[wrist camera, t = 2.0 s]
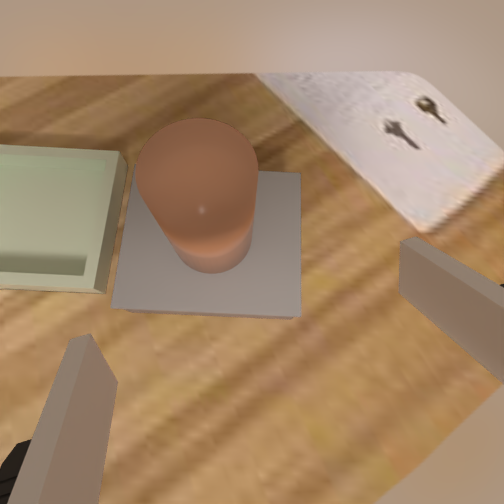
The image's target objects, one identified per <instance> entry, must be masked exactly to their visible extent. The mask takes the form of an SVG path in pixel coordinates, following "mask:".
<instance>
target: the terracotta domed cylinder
mask: <svg viewBox="0 0 504 504" xmlns="http://www.w3.org/2000/svg"><path fill="white" fill-rule="evenodd" d="M258 174H259V169H258V161H257V157H256V154H255V151H254V149H253V147H252V145H251V144H250V143H249V141H248V140H247V139H246V138H245V137H244V135H243V134H241V133H240V132H239V131H238V130H236V129H235V128H233V127H232V126H230V125H228V124H226V123H223V122H220V121H217V120H213V119H207V118H191V119H185V120H180V121H177V122H174V123H171V124H169V125H167V126H165V127H164V128H162V129H160V130H159V131H158V132H156V133H155V134H154V135H153V136H152V137H151V138H150V139H149V140H148V141H147V142H146V144H145V145H144V146H143V148H142V150H141V152H140V154H139V156H138V159H137V163H136V170H135V178H136V184H137V188H138V190H139V193H140V195H141V197H142V199H143V200H144V202H145V204H146V205H147V207H148V208H149V210H150V212H151V213H152V215H153V216H154V218H155V220H156V221H157V223H158V224H159V226H160V228H161V229H162V231H163V232H164V234H165V236H166V237H167V239H168V240H169V242H170V244H171V245H172V247H173V248H174V250H175V252H176V253H177V255H178V256H179V258H180V259H181V260H182V261H183V262H184V263H185V264H186V265H187V266H188V267H190V268H192V269H193V270H196V271H198V272H202V273H208V274H216V273H222V272H225V271H228V270H230V269H232V268H234V267H235V266H237V265H238V264H239V263H240V262H241V261H242V260H243V259H244V258H245V256H246V255H247V253H248V251H249V249H250V246H251V242H252V233H253V223H254V213H255V203H256V193H257V183H258Z"/></svg>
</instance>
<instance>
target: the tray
mask: <svg viewBox="0 0 504 504" xmlns="http://www.w3.org/2000/svg"><path fill="white" fill-rule="evenodd" d="M127 169H128V165H127V163H126V161H125V160H124V158H123V156H122V155H121V153H120V151H109V150H91V149H73V148H55V147H37V146H19V145H1V144H0V289H13V290H34V291H55V292H76V293H97V294H105V293H106V288H107V282H108V276H109V271H110V265H111V260H112V254H113V248H114V243H115V237H116V231H117V226H118V220H119V214H120V209H121V203H122V197H123V192H124V186H125V180H126V175H127Z"/></svg>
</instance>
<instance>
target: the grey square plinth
mask: <svg viewBox="0 0 504 504" xmlns="http://www.w3.org/2000/svg"><path fill="white" fill-rule="evenodd" d="M135 170H136V164H135V166H134V172H133V178H132V184H131V190H130V196H129V202H128V208H127V213H126V219H125V225H124V231H123V237H122V243H121V249H120V255H119V260H118V266H117V272H116V278H115V284H114V290H113V296H112V302H111V307H110V308H112V309H124V310H127V311H129V312H137V313H159V314H181V315H202V316H224V317H246V318H267V319H289V320H291V319H292V318H293V317H301V173H292V172H274V171H259V174H258V183H257V193H256V203H255V213H254V223H253V233H252V242H251V246H250V249H249V251H248V253H247V255H246V256H245V258H244V259H243V260H242V261H241V262H240V263H239V264H238V265H237V266H235V267H234V268H232V269H230V270H228V271H225V272H222V273H216V274H208V273H202V272H198V271H196V270H193V269H192V268H190V267H188V266H187V265H186V264H185V263H184V262H183V261H182V260H181V259H180V258H179V256H178V255H177V253H176V252H175V250H174V248H173V247H172V245H171V244H170V242H169V240H168V239H167V237H166V236H165V234H164V232H163V231H162V229H161V228H160V226H159V224H158V223H157V221H156V220H155V218H154V216H153V215H152V213H151V212H150V210H149V208H148V207H147V205H146V204H145V202H144V200H143V199H142V197H141V195H140V193H139V190H138V188H137V184H136V178H135Z"/></svg>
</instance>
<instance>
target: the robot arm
mask: <svg viewBox="0 0 504 504" xmlns="http://www.w3.org/2000/svg"><path fill="white" fill-rule="evenodd" d="M399 293H400V294H401V295H402V296H403V297H404V298H405V299H406V300H408V301H409V302H410V303H411V304H412V305H413V306H414V307H416V308H417V309H418V310H419V311H420V312H421V313H422V314H424V315H425V316H426V317H427V318H428V319H429V320H431V321H432V322H433V323H434V324H435V325H436V326H437V327H439V328H440V329H441V330H442V331H443V332H444V333H445V334H447V335H448V336H449V337H450V338H451V339H452V340H453V341H455V342H456V343H457V344H458V345H459V346H460V347H462V348H463V349H464V350H465V351H466V352H467V353H468V354H470V355H471V356H472V357H473V358H474V359H475V360H476V361H478V362H479V363H480V364H481V365H482V366H483V367H485V368H486V369H487V370H488V371H489V372H490V373H491V374H493V375H494V376H495V377H496V378H497V379H498V380H499V381H501V382H502V383H503V384H504V284H501V285H498V284H497V283H495V282H493V281H491V280H490V279H488V278H486V277H485V276H483V275H481V274H479V273H478V272H476V271H474V270H473V269H471V268H469V267H468V266H466V265H464V264H462V263H461V262H459V261H457V260H456V259H454V258H452V257H450V256H449V255H447V254H445V253H444V252H442V251H440V250H438V249H437V248H435V247H433V246H432V245H430V244H428V243H426V242H425V241H423V240H421V239H420V238H418V237H413V238H409V239H406V240H403V241H400V264H399ZM117 384H118V381H117V379H116V378H115V376H114V374H113V372H112V371H111V369H110V367H109V365H108V363H107V362H106V360H105V358H104V356H103V355H102V353H101V351H100V349H99V347H98V346H97V344H96V342H95V340H94V339H93V337H92V335H91V333H90V334H86V335H83V336H80V337H76V338H73V339H70V341H69V343H68V346H67V349H66V351H65V354H64V357H63V359H62V362H61V364H60V367H59V370H58V372H57V375H56V377H55V380H54V383H53V385H52V388H51V390H50V393H49V396H48V398H47V401H46V404H45V406H44V409H43V411H42V414H41V417H40V419H39V422H38V424H37V427H36V430H35V432H34V435H33V437H32V439H31V440H28V441H24V442H21V443H18V444H17V445H16V446H15V447H14V449H13V450H12V451H11V453H10V454H9V455H8V457H7V458H6V459H5V461H4V462H3V463H2V465H1V468H0V504H98V501H99V495H100V488H101V482H102V476H103V470H104V464H105V458H106V452H107V446H108V439H109V433H110V427H111V421H112V415H113V409H114V403H115V397H116V390H117Z"/></svg>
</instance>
